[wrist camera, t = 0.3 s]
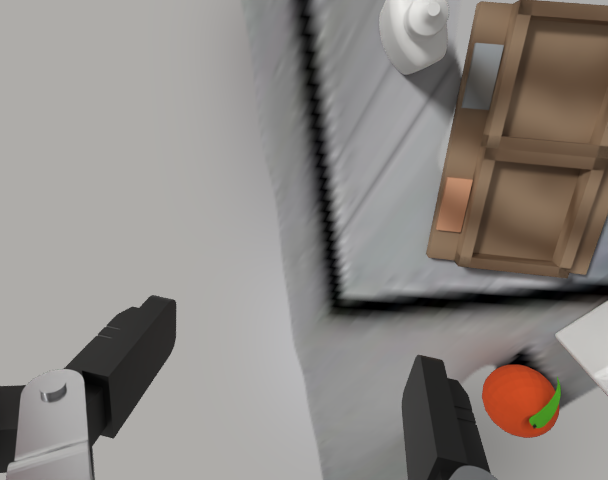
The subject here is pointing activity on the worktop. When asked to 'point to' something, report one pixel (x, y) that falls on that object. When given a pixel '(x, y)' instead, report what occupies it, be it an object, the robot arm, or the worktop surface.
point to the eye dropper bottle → (414, 33)
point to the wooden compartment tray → (528, 142)
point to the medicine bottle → (589, 343)
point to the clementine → (521, 400)
